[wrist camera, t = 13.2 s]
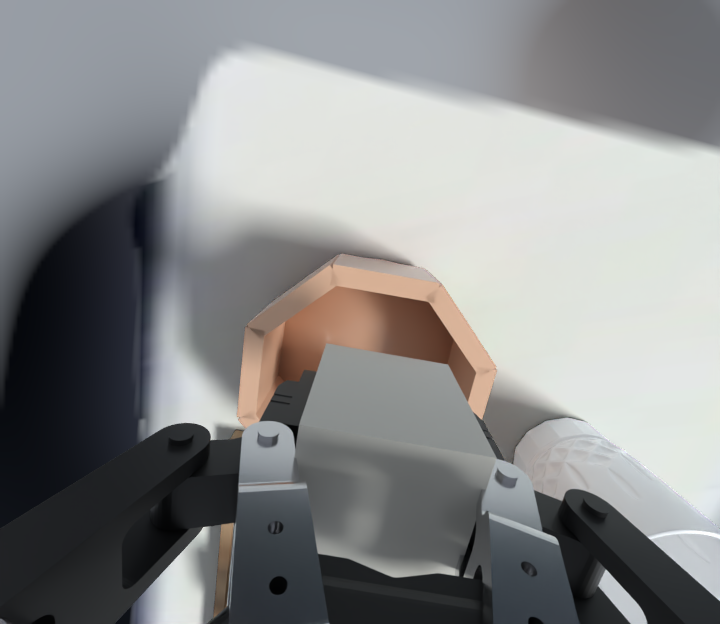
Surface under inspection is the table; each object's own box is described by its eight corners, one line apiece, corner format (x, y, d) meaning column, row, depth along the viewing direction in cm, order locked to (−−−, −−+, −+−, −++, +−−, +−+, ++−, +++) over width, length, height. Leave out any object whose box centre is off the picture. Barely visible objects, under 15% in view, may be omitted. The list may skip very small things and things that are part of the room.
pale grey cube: (423, 458, 14) (452, 591, 9) (310, 439, 14) (278, 563, 9) (448, 364, 13) (496, 457, 8) (326, 343, 12) (298, 424, 8)
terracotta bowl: (435, 448, 26) (454, 512, 20) (261, 419, 26) (231, 476, 20) (481, 277, 23) (519, 297, 17) (281, 241, 22) (252, 249, 17)
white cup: (489, 488, 27) (556, 640, 17) (526, 397, 25) (627, 513, 15) (587, 510, 27) (706, 672, 18) (631, 423, 25) (795, 552, 15)
